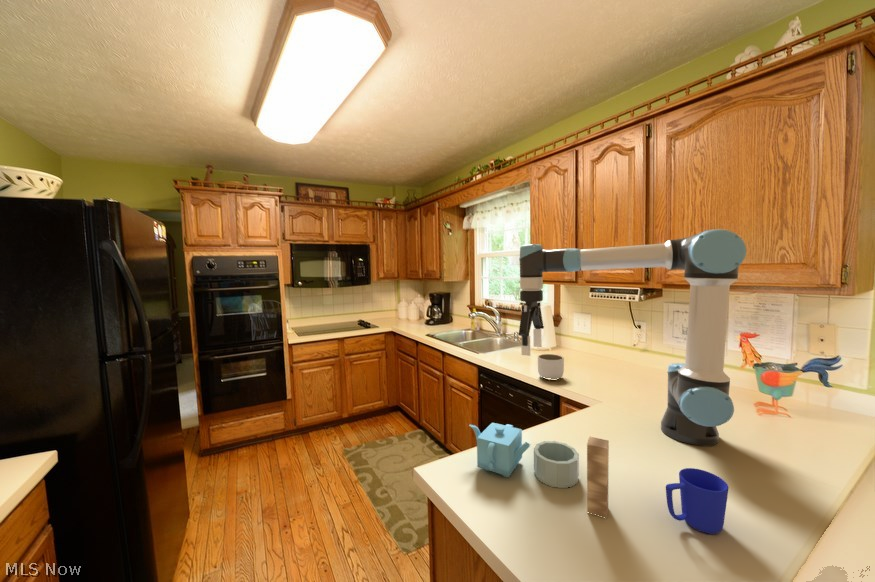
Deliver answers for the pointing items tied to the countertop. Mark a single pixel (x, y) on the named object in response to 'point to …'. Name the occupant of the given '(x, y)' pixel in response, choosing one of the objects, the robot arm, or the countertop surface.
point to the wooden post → (597, 476)
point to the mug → (700, 499)
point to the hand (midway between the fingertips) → (532, 350)
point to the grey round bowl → (556, 464)
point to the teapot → (499, 448)
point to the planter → (551, 366)
